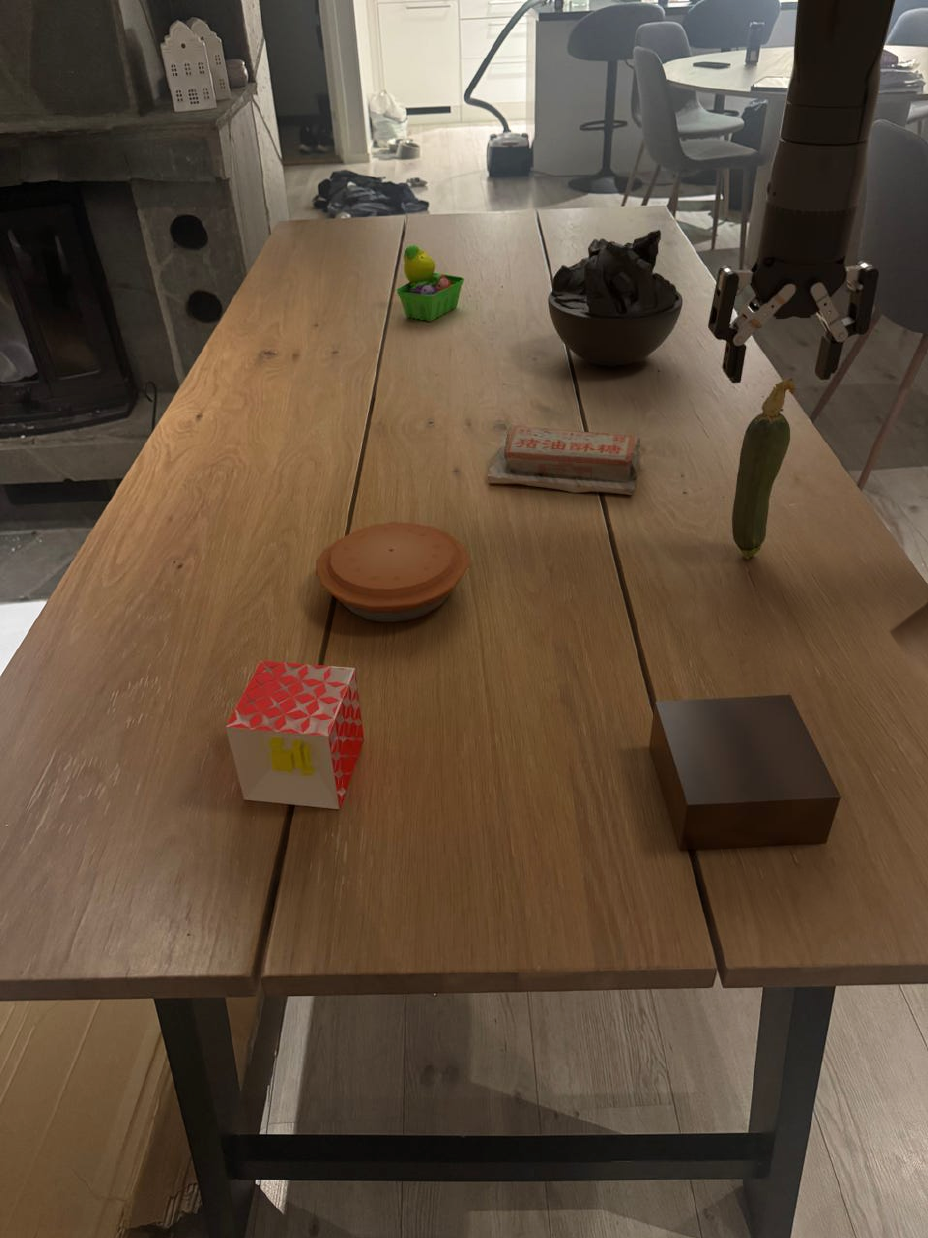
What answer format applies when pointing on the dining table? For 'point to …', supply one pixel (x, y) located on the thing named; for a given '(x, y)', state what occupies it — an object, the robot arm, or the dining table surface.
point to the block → (741, 773)
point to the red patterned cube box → (297, 734)
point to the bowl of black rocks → (614, 302)
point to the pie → (392, 570)
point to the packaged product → (567, 460)
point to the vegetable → (760, 470)
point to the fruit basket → (427, 287)
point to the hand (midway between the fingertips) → (777, 378)
